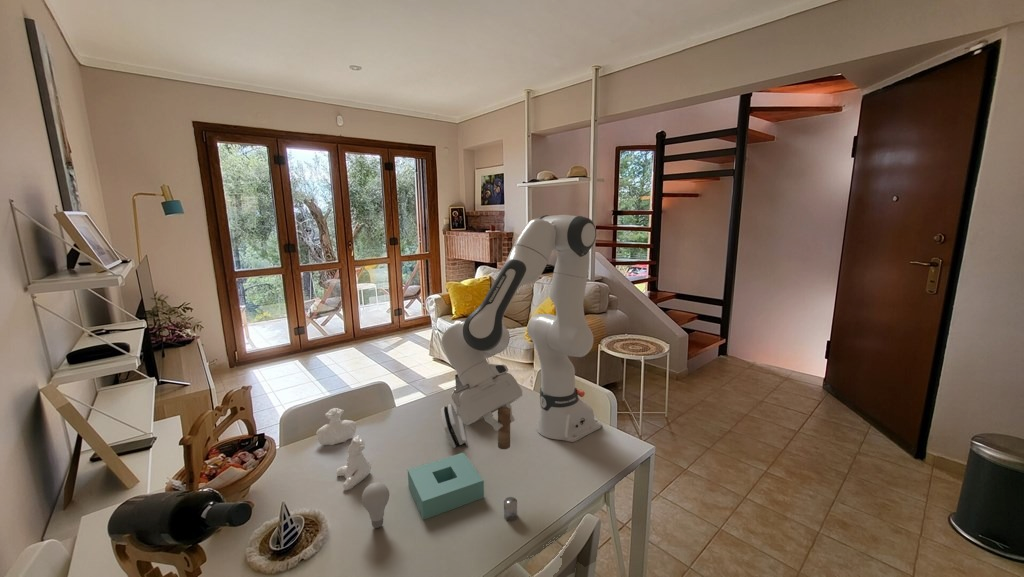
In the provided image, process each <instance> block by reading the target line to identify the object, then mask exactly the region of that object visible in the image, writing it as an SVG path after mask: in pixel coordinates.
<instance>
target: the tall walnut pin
mask: <svg viewBox="0 0 1024 577" xmlns="http://www.w3.org/2000/svg"><path fill="white" fill-rule="evenodd" d="M498 421H501V424H502V425H503V427H502V428H501V429H499V430H498V431H497V447H498V449H500V450H508V449H509V448H511V423H510V408H508V407H501V408H499V409H498V410H497V422H498Z"/></svg>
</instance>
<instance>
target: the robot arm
mask: <svg viewBox="0 0 1024 577" xmlns="http://www.w3.org/2000/svg"><path fill="white" fill-rule="evenodd" d="M596 228H597V227H596V225H595V223H594V222H593V220H592V219H591V218H588V217H586V216H582V215H578V216H577V215H571V214H570V215H569V214H558V215H557V214H556V215H555V214H554V215H547V214H546V215H541V216H539V217H536V218H534V219H531V220H529V221H528V223H527V224H526V225H525V226H524V227H523V229H521V231H520V233H519V235H518V236H517V238H516V239H515V242H514V243H513V246H512V247H511V249H510V252H509V253H508V256H507V258H506V260H505V262H504V265H503V266H502V268H501V270H500V271H499V273H498V274H497V276H496V278H495V279H494V281H493V283H492V285H491V287H490V288H489V290H488V292H487V294H486V296H485V297H484V299H483V300H482V302H481V303H480V305H479V306H478V307H477V308H476V309H475V310H473V312H471V313H470V314H469V315H468V316H467V317H466V319H465V320H464V322H463V323H460V322H459V323H456V324H454V325H451V326H449V328H448V329H446V330H445V331H444V333H443V335H442V337H441V339H440V340H441V346H442V349H443V352H444V353H445V356H446V358H447V360H448V361H449V363H450V365H451V366H452V367H453V368H454V369H455V371H456V373H457V374H458V378H459V379H460V381H461V383H462V385H463V386H462V387H460V388H457V389H456V388H455V389H453V392H452V394H451V399H452V402H453V403H454V405H455V407H456V412H457V411H458V413H459V416H460V418H461V420H462V422H463V423H464V425H465V426H470V425H471V424H473V423H476V422H477V421H479V420H481V419H484V421H485V422H486V423H487V424H489V425H490V426H492V427H493V429H494V431H495V432H498V430H499V429H501V428H502V427H503V425H502V424H501V421H498V419H496V418H495V417H494V414H493V413H495V412H496V411H497V412H498V409H499V408H501V407H508V408H510V424H512V423H513V422H514V421H515V420H516V419H515V417H514V415H513V411H512V410H513V409H512V405H511V404H512V403H514V402H516V401H517V400H519V399H520V398H521V397H523V390H522V387H521V386H520V384H519V382H518V381H517V379H516V378H515V377H514V375H512V374H511V373H509V368H508V366H507V365H506V364H493V363H489V362H488V360H487V359H488V358H491V357H494V356H495V355H498V354H500V353H502V352H503V351H504V350H505V349H507V347H508V345H509V343H510V340H511V339H510V338H511V337H510V332H509V330H508V328H507V327H506V326H505V324H504V316H505V314H506V312H507V310H508V308H509V307H510V305H511V302H512V300H513V299H514V297H515V294H516V293H517V291H518V290H519V289H520V288H522V287H523V286H524V285H528V286H529V285H531V284H533V283H536V282H537V281H538V280H539V278H540V276H541V275H542V274H543V272H544V271H545V269H546V267H547V265H548V262H549V260H550V257H551V255H552V253H553V251H554V252H555V251H557V258H556V261H555V265H554V269H553V275H552V278H551V284H550V289H549V298H550V301H551V302H552V303H553V305H554V308H555V314H551V313H537V314H534V315H532V316H531V318H530V319H529V320H528V323H527V327H526V332H527V335H528V337H529V338H530V340H531V341H532V343H533V345H534V347H535V350H536V353H537V356H538V360H539V364H540V371H541V372H540V373H541V374H540V377H541V380H540V381H541V383H540V384H541V387H540V389H539V405H540V406H539V407H540V409H539V413H538V414H539V415H538V419H537V423H536V431H537V432H538V433H539V434H540V435H541V436H543V437H545V438H547V439H552V440H559V441H561V440H562V441H566V442H569V443H570V442H571V443H574V442H576V441H578V440H581V439H582V438H584V437H586V436H588V435H590V434H592V433H593V432H595V431H597V430H599V429H602V424H601V421H600V420H599V419H598V418H597V417H596V416H595V413H594V410H593V407H592V406H591V405H590V404H588V403H587V402H586V401H584V400H582V399H581V398H584V397H585V394H586V392H585V391H583V390H582V389H578V388H576V386H575V384H576V383H575V382H576V381H575V379H576V377H575V376H576V369H575V366H574V364H573V363H572V361H571V360H570V358H569V357H574V358H575V357H577V358H583V357H585V356H586V355H588V354H589V353H590V351H591V350H592V348H593V345H594V338H595V337H594V334H593V331H592V330H591V329H590V327H589V325H588V322H587V319H586V316H585V309H584V301H585V294H586V287H587V283H588V276H589V271H590V250H591V249H592V247H593V246H594V244H595V241H596V240H597V239H596V238H597V229H596Z"/></svg>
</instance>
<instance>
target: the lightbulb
mask: <svg viewBox="0 0 1024 577" xmlns="http://www.w3.org/2000/svg"><path fill="white" fill-rule="evenodd" d="M389 499H390V490H389V488H388V486H387V485H386V484H385V483H382V482H379V481H378V482H377V481H376V482H372V483H370V484H368V485H367V486H366V487H365V488H364V490H363V492H362V494H361V504H362V507H364V509H365V510H366V511H367V513H368V515H369V518H370V521H371V527H372V528H374V529H380V528H381V527H382V526H383V525H384V516H385V509H386V506H387V505H388V502H389Z"/></svg>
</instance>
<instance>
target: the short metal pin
mask: <svg viewBox="0 0 1024 577" xmlns="http://www.w3.org/2000/svg"><path fill="white" fill-rule="evenodd" d="M503 518H504V520H505V521H507V522H513V521H516V520H517V518H518V500H517V499H516V498H515V497H514V496H509V497H505V499H504V500H503Z"/></svg>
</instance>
